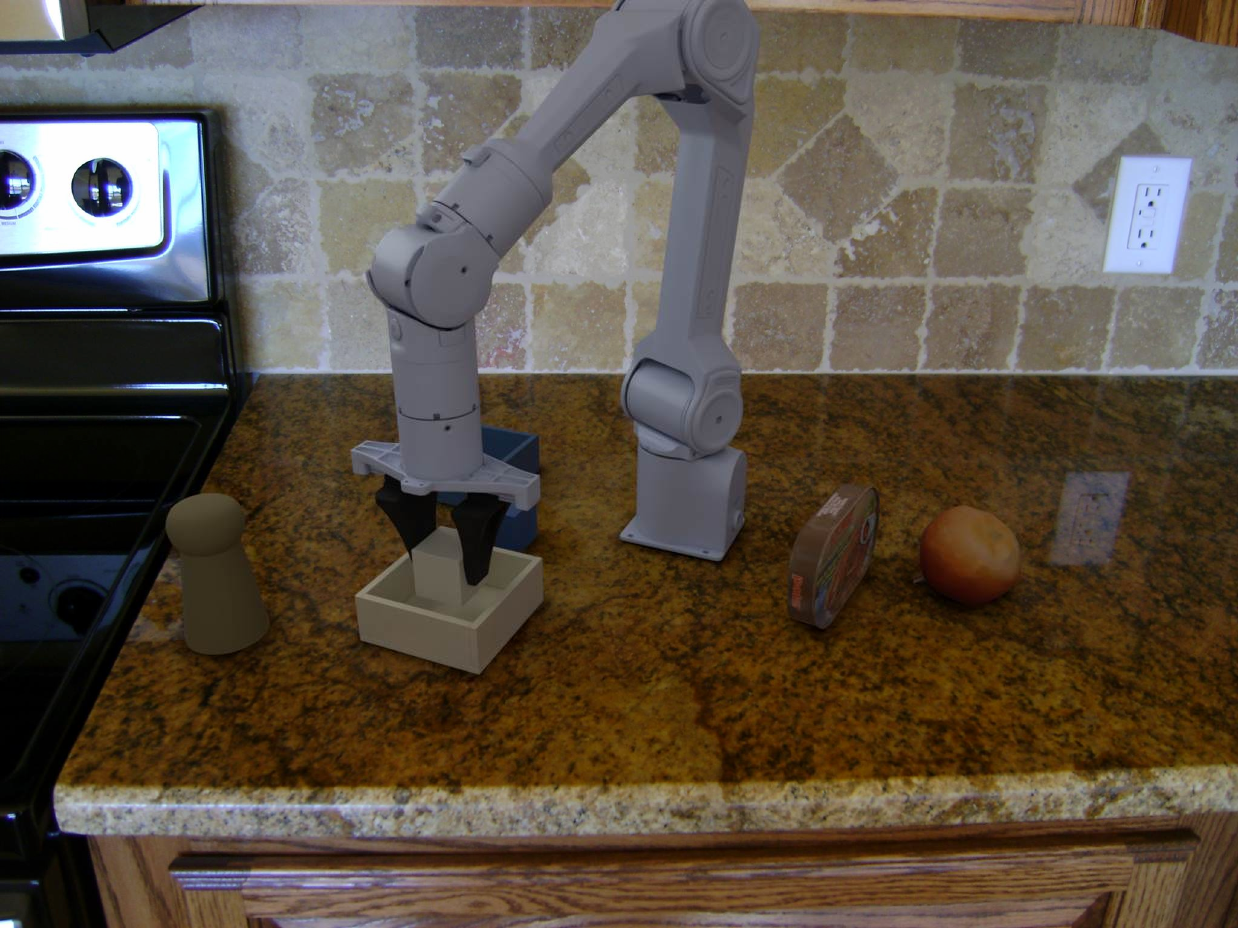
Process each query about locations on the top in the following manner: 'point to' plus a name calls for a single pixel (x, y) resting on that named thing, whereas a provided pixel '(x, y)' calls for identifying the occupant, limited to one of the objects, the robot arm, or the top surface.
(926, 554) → the fruit
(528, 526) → the blue block
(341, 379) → the top surface
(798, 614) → the tin
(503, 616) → the cream bin
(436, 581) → the cream block
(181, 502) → the cork
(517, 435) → the blue bin
